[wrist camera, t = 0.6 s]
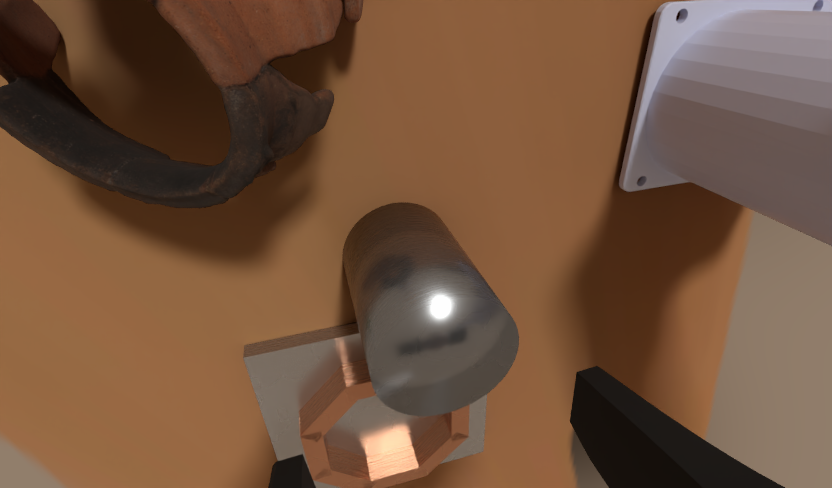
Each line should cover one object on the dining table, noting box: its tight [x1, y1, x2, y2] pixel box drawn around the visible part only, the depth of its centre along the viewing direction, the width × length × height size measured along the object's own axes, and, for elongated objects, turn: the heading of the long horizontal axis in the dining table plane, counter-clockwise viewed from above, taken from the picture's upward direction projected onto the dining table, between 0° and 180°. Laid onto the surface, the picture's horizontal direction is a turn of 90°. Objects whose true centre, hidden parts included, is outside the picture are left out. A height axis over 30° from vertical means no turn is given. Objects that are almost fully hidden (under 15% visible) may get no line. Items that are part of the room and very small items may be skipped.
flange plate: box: [243, 323, 487, 488], centre depth 23 cm, size 12×12×2 cm
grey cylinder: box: [343, 203, 519, 416], centre depth 17 cm, size 5×5×7 cm
